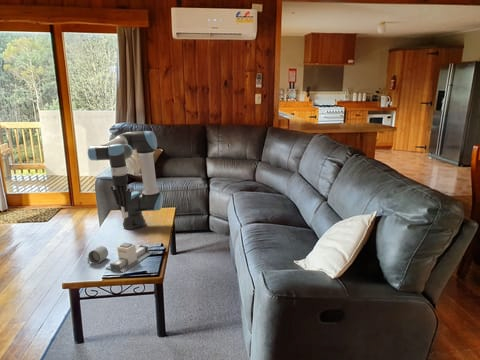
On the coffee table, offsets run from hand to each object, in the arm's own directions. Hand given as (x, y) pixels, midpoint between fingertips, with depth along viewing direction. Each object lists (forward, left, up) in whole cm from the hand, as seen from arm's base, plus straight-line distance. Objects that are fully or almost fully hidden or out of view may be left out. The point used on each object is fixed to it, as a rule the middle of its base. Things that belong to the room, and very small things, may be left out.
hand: (125, 217), depth 184 cm
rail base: (+2, +2, -24) cm, 24 cm away
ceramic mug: (+8, -16, -24) cm, 30 cm away
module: (+4, +2, -23) cm, 24 cm away
